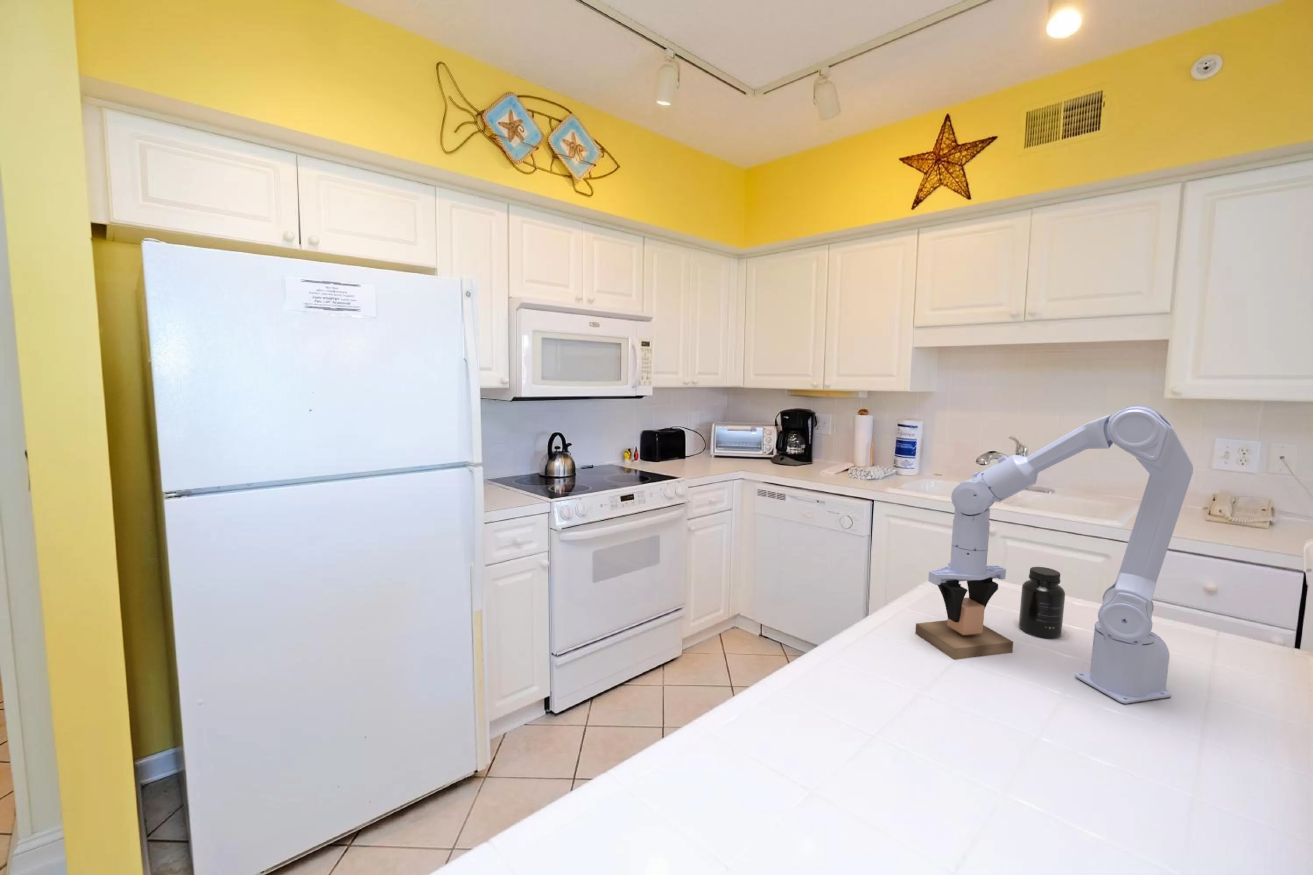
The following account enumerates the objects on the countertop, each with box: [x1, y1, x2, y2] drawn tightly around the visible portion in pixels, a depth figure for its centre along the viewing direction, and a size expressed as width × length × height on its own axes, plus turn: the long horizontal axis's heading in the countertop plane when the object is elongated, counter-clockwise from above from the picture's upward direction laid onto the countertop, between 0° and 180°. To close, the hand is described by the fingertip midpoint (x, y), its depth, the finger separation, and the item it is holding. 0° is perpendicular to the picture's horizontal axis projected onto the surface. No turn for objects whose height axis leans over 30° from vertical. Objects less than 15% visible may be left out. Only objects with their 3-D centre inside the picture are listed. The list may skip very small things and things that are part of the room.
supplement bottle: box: [1018, 566, 1066, 639], centre depth 109 cm, size 7×7×12 cm
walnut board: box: [915, 619, 1014, 661], centre depth 105 cm, size 12×10×2 cm
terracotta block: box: [947, 597, 986, 635], centre depth 104 cm, size 4×4×5 cm
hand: (964, 618), depth 104 cm, fingers closed on terracotta block, 4 cm apart
